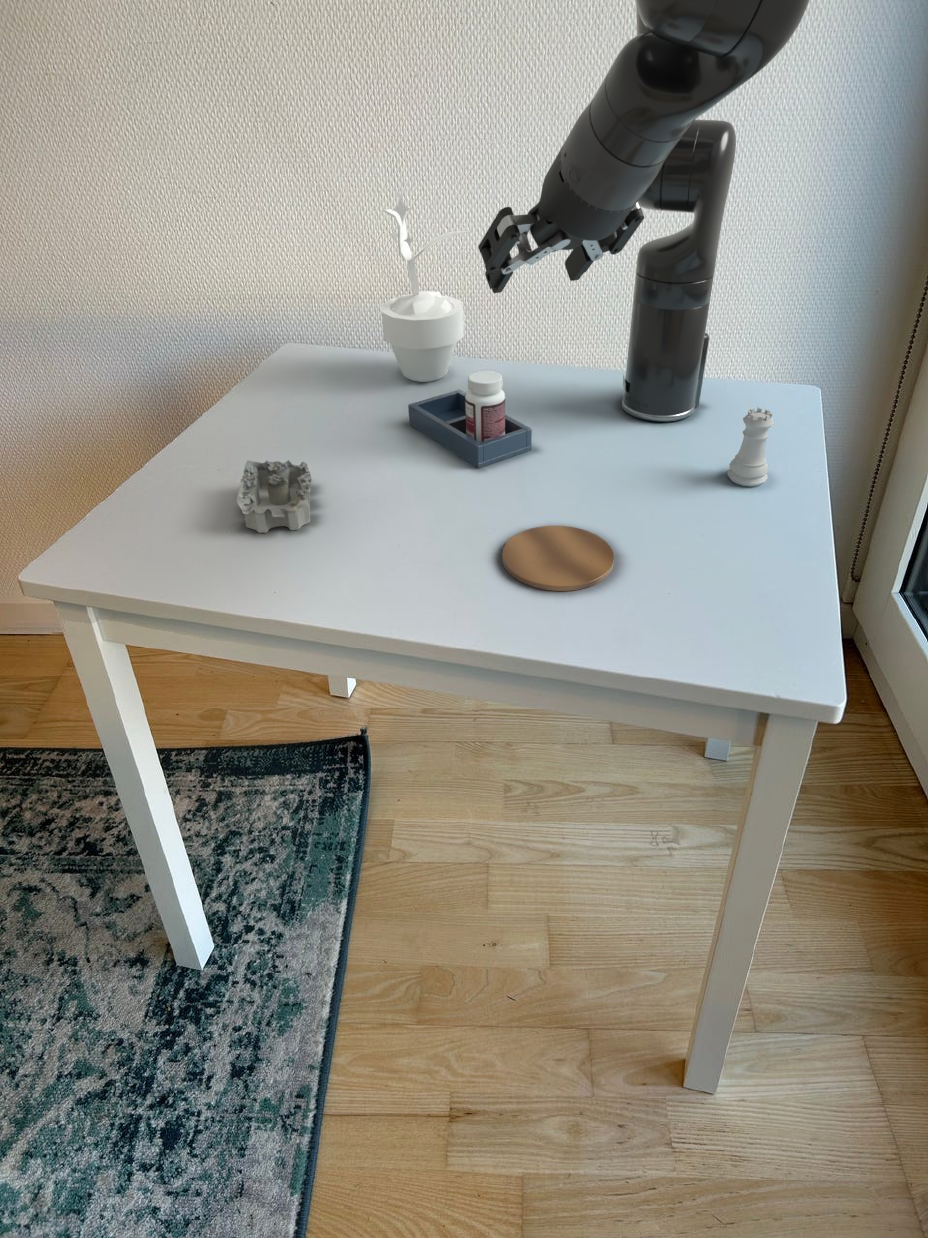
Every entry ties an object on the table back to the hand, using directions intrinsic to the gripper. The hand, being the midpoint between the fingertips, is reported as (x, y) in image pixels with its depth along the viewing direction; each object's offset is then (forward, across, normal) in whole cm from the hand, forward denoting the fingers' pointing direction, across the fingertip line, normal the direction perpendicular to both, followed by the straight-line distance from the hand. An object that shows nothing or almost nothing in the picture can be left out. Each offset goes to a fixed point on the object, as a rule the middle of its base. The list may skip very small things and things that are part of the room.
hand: (532, 278), depth 84 cm
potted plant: (+41, -3, -9) cm, 42 cm away
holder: (+26, 0, +6) cm, 27 cm away
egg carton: (+22, +27, +11) cm, 36 cm away
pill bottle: (+23, 0, +8) cm, 25 cm away
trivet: (+6, +4, +27) cm, 28 cm away
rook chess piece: (+9, -23, +23) cm, 34 cm away
